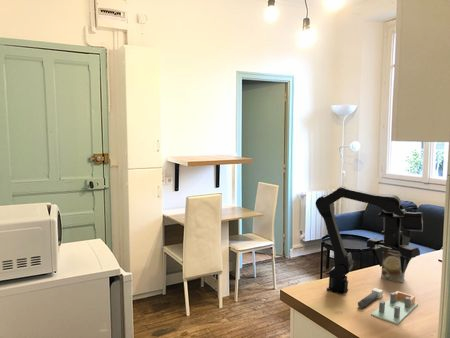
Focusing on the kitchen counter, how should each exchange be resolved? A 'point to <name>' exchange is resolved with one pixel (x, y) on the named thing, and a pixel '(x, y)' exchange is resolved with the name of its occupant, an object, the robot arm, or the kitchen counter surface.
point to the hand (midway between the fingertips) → (391, 269)
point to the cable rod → (370, 297)
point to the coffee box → (392, 265)
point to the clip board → (395, 307)
